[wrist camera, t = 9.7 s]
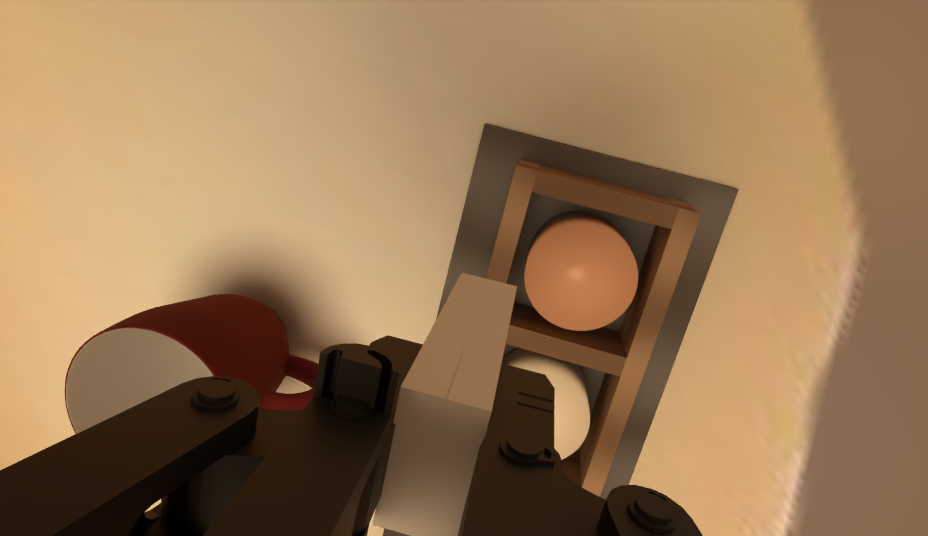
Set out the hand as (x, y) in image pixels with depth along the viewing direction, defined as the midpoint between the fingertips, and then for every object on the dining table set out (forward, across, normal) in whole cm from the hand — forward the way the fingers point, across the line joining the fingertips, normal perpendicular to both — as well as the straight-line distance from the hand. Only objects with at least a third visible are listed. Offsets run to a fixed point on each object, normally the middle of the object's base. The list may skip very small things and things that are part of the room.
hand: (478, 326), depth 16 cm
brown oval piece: (+16, +4, -2) cm, 16 cm away
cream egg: (+16, +3, -9) cm, 18 cm away
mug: (+17, -12, -11) cm, 23 cm away
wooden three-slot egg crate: (+17, +4, -9) cm, 19 cm away
